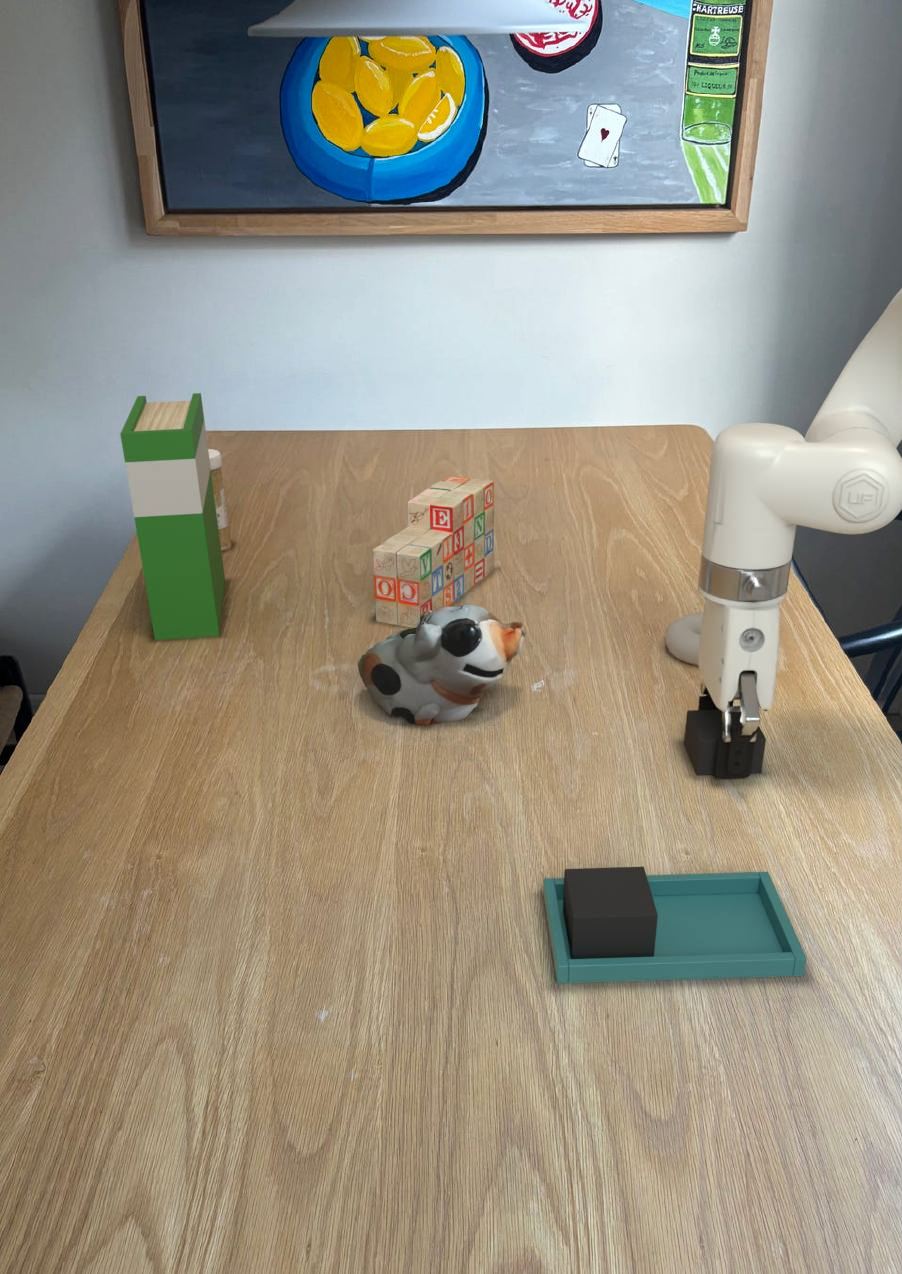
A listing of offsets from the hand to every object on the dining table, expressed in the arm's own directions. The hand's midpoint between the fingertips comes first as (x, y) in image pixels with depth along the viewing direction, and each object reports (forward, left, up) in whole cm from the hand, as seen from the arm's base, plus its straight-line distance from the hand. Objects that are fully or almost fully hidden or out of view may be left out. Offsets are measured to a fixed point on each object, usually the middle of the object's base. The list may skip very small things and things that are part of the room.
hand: (721, 753), depth 108 cm
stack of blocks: (+26, -43, -1) cm, 50 cm away
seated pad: (+14, +26, 0) cm, 30 cm away
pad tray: (+10, +26, -1) cm, 28 cm away
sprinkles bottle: (+57, -63, -1) cm, 85 cm away
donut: (-4, -24, -1) cm, 24 cm away
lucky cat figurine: (+26, -14, -1) cm, 30 cm away
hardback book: (+56, -40, -1) cm, 69 cm away
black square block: (0, 0, -1) cm, 1 cm away
